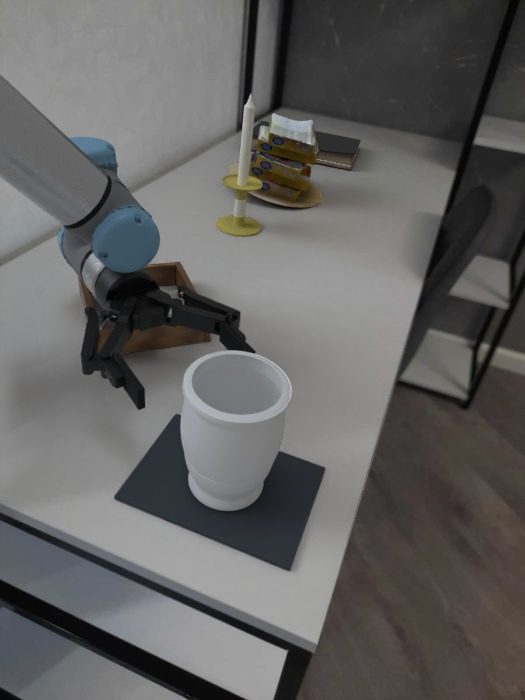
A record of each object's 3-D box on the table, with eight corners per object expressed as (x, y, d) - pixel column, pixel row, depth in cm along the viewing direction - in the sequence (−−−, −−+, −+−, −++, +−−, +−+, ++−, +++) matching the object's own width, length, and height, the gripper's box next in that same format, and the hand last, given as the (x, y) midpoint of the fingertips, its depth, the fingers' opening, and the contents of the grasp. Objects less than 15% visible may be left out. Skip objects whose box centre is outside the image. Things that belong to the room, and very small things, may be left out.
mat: (114, 499, 56) (113, 496, 56) (175, 415, 67) (175, 413, 66) (289, 571, 52) (289, 568, 51) (324, 470, 62) (325, 467, 62)
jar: (286, 468, 61) (307, 372, 52) (247, 537, 54) (265, 438, 44) (207, 433, 64) (215, 336, 55) (160, 494, 56) (159, 393, 47)
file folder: (243, 135, 153) (263, 118, 172) (242, 149, 156) (261, 131, 175) (353, 156, 149) (361, 137, 168) (350, 171, 152) (358, 150, 171)
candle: (268, 225, 116) (286, 93, 99) (247, 241, 108) (262, 102, 92) (230, 212, 118) (240, 82, 102) (206, 227, 111) (214, 89, 95)
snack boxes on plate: (331, 185, 140) (345, 120, 130) (309, 218, 121) (323, 145, 111) (246, 166, 145) (252, 101, 135) (211, 194, 126) (216, 122, 115)
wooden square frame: (95, 357, 74) (93, 335, 71) (79, 291, 86) (77, 270, 84) (210, 341, 80) (211, 319, 77) (179, 281, 93) (180, 261, 90)
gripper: (201, 289, 78) (286, 371, 65) (28, 332, 65) (89, 444, 52) (204, 243, 73) (295, 322, 60) (17, 280, 61) (83, 389, 48)
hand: (200, 379), depth 56 cm, fingers open, 13 cm apart
